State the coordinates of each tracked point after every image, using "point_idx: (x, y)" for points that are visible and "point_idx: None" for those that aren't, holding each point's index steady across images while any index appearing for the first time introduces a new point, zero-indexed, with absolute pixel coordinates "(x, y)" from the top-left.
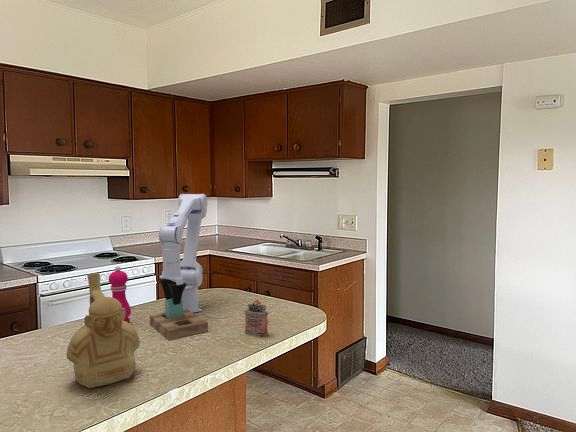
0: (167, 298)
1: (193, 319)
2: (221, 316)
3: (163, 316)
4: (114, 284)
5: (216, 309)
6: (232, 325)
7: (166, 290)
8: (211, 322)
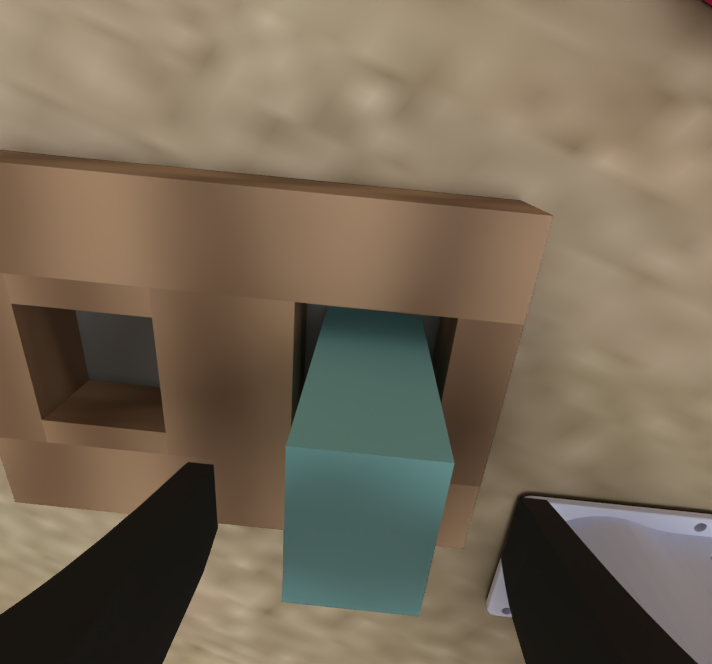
0: (520, 522)
1: (141, 465)
2: (306, 619)
3: (451, 333)
4: None
5: (454, 659)
6: None
7: (585, 653)
8: (233, 541)
